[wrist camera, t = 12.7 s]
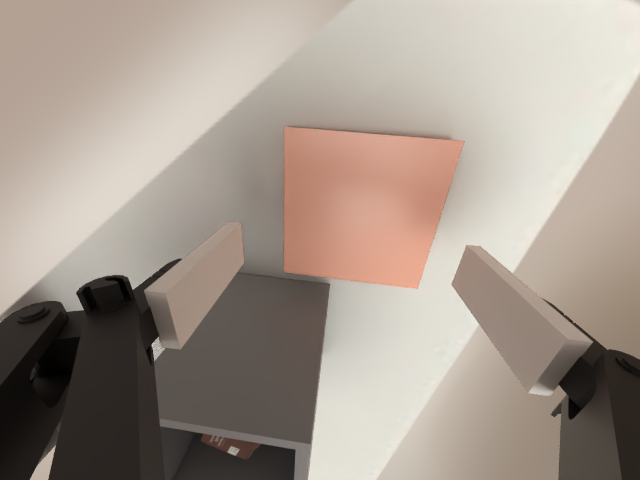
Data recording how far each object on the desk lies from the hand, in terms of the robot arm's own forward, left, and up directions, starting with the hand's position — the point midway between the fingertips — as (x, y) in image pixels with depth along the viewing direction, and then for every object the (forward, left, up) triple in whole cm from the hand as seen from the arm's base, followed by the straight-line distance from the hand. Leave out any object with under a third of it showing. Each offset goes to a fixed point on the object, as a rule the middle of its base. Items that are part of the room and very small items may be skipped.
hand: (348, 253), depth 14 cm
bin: (-7, -14, -8) cm, 17 cm away
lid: (+1, 0, -7) cm, 7 cm away
